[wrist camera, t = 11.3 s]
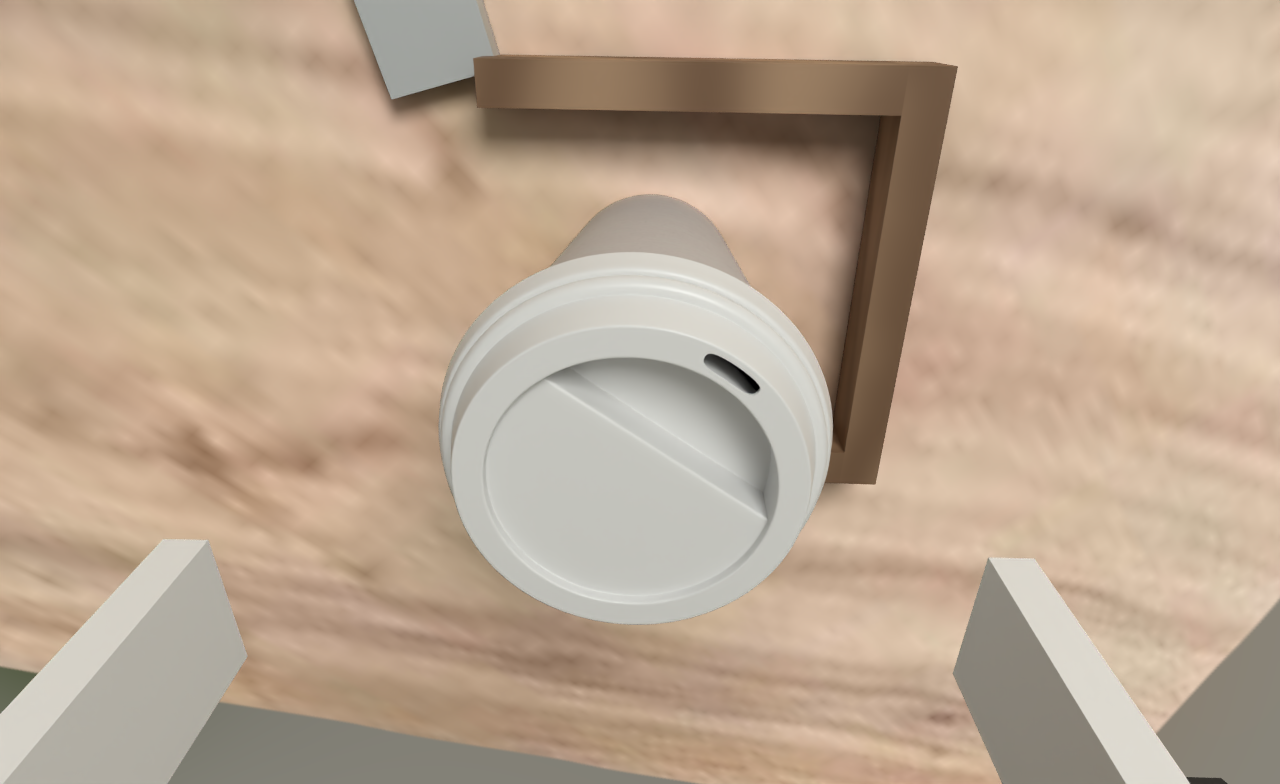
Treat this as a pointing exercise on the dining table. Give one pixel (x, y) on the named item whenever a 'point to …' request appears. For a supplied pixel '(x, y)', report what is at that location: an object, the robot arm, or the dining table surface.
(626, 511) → the coffee cup
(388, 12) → the slate tile
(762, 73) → the bracket
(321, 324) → the dining table surface
